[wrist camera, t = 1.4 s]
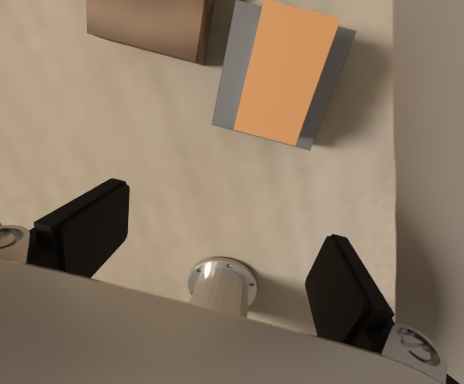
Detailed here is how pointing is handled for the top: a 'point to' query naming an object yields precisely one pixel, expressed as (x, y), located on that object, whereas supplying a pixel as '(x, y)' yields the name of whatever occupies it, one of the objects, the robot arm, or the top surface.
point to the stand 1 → (154, 25)
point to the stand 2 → (238, 63)
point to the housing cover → (284, 70)
